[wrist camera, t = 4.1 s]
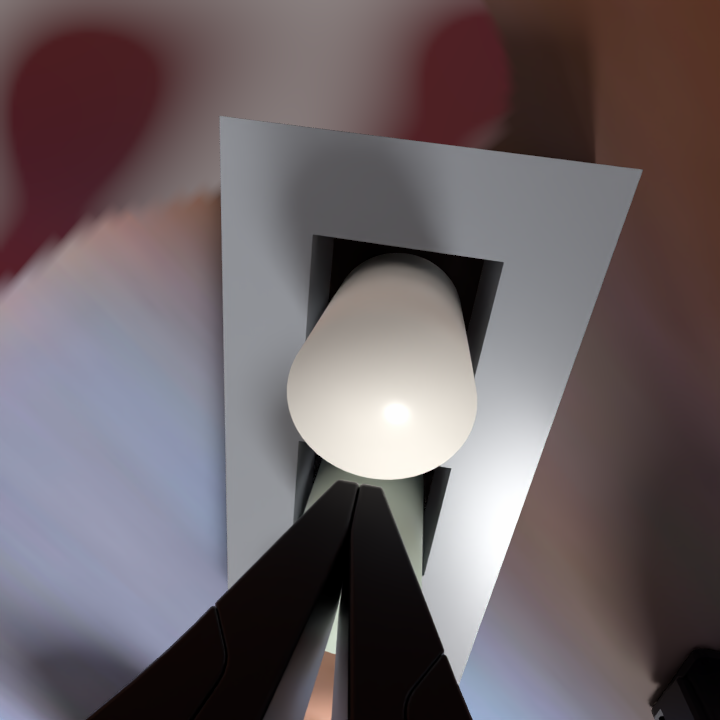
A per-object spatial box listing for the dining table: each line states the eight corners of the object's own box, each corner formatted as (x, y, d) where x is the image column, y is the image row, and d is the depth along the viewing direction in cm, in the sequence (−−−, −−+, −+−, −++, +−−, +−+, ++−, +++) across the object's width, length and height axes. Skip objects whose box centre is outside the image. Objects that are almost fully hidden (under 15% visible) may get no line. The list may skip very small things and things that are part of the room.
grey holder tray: (595, 163, 16) (642, 169, 13) (442, 653, 28) (443, 726, 25) (264, 121, 17) (219, 115, 13) (254, 613, 29) (229, 678, 26)
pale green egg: (432, 447, 20) (433, 575, 14) (414, 529, 22) (408, 669, 16) (323, 427, 20) (278, 544, 14) (315, 510, 22) (273, 641, 16)
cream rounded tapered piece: (474, 263, 16) (498, 331, 10) (447, 382, 18) (454, 494, 12) (340, 243, 17) (291, 298, 11) (329, 362, 19) (282, 461, 13)
